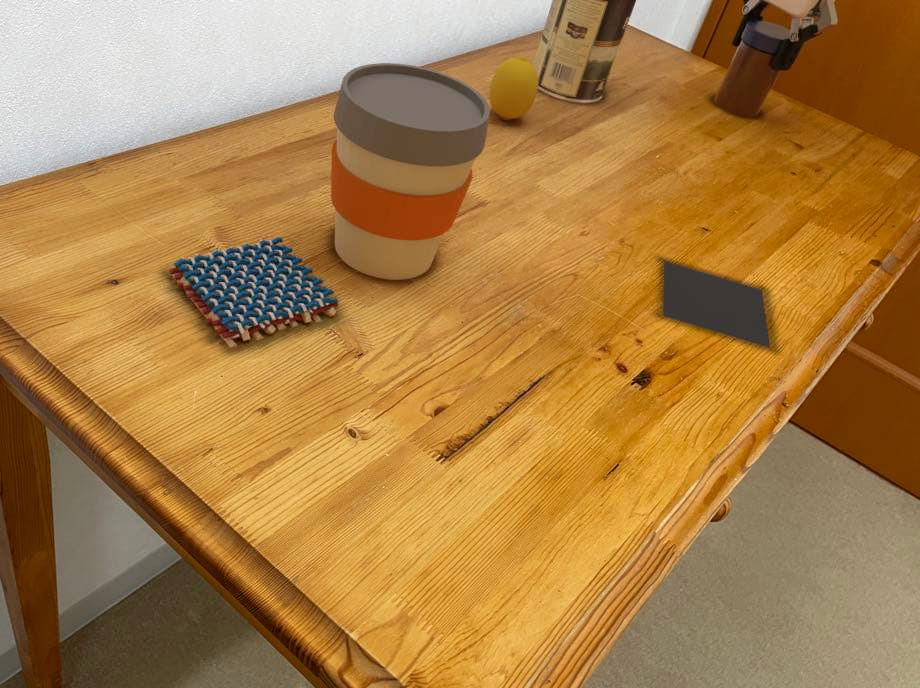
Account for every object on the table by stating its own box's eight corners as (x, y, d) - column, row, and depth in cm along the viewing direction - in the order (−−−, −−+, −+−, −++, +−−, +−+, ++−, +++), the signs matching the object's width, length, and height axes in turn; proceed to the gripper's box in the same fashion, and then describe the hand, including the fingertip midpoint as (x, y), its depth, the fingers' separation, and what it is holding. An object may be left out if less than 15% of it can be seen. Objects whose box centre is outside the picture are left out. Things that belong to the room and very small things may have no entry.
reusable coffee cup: (388, 313, 71) (425, 147, 61) (285, 241, 76) (305, 77, 66) (477, 265, 79) (523, 112, 69) (378, 203, 84) (409, 52, 74)
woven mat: (163, 277, 69) (163, 256, 68) (276, 251, 75) (278, 231, 73) (225, 354, 64) (226, 333, 62) (341, 319, 69) (345, 300, 68)
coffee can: (594, 79, 119) (632, -27, 110) (607, 111, 112) (649, -1, 102) (523, 66, 118) (555, -43, 108) (532, 97, 110) (567, -17, 101)
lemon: (501, 107, 106) (519, 43, 101) (535, 126, 104) (555, 62, 99) (473, 115, 103) (490, 49, 98) (507, 135, 101) (527, 69, 95)
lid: (783, 40, 117) (790, 26, 116) (797, 59, 112) (805, 44, 111) (735, 30, 116) (742, 16, 115) (747, 48, 111) (754, 33, 110)
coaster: (760, 293, 84) (762, 289, 84) (768, 351, 77) (770, 348, 77) (662, 264, 85) (663, 260, 85) (661, 319, 78) (662, 315, 78)
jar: (755, 107, 123) (792, 33, 115) (758, 124, 118) (797, 48, 111) (711, 95, 123) (745, 20, 116) (713, 111, 118) (748, 34, 111)
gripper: (905, -63, 100) (825, 85, 112) (798, -108, 110) (735, 31, 122) (864, -66, 97) (786, 86, 109) (758, -112, 107) (697, 31, 119)
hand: (760, 56), depth 115 cm, fingers closed on lid, 6 cm apart
